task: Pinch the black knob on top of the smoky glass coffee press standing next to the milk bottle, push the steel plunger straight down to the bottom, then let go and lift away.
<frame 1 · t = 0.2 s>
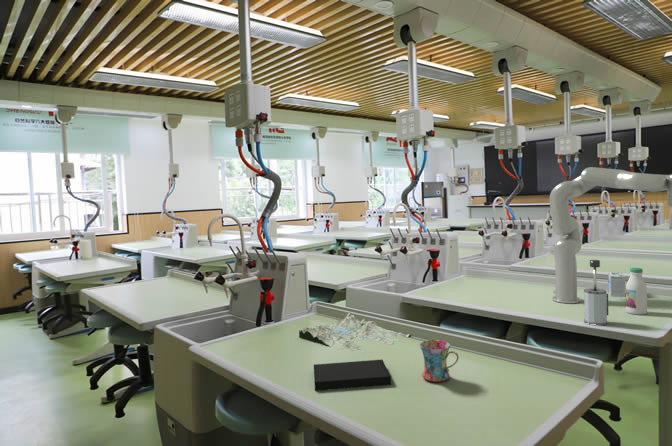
external hard drive: (350, 379, 139), on the lab bench
mug: (440, 379, 135), on the lab bench
plunger: (595, 278, 182), point 19 cm above the lab bench, slide at 0.0 cm
topographic map model: (354, 338, 180), on the lab bench
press: (595, 322, 183), on the lab bench
milk bottle: (636, 313, 194), on the lab bench
light bulb box: (616, 294, 228), on the lab bench
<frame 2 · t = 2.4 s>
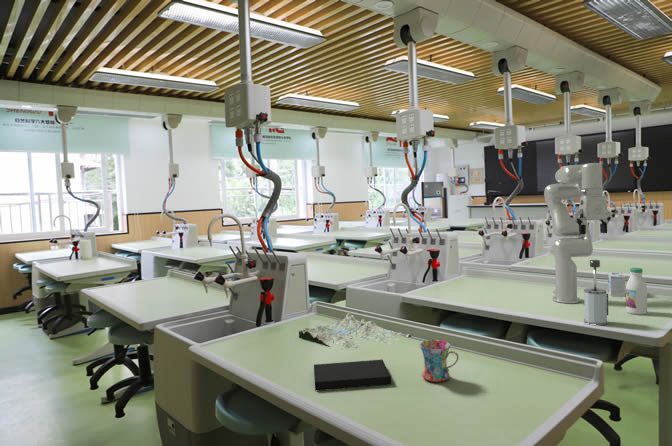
hand: (593, 233, 183), 37 cm above the lab bench, tool pointing down, fingers open, 9 cm apart
nothing on the lab bench moved.
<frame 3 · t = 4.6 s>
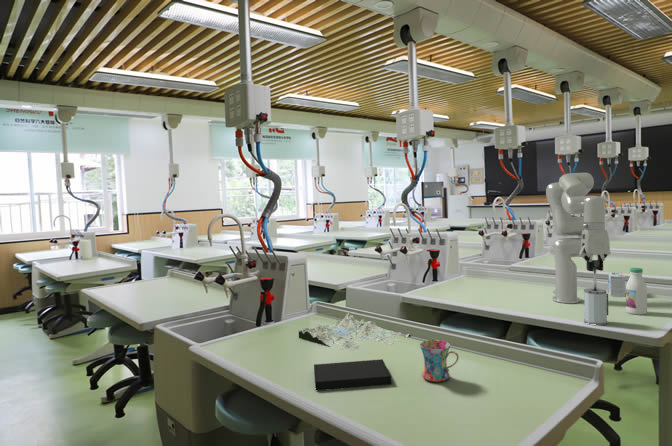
hand: (594, 270, 182), 22 cm above the lab bench, tool pointing down, fingers closed on plunger, 3 cm apart
plunger: (595, 278, 182), point 19 cm above the lab bench, slide at 0.0 cm, touching gripper
everything else where it was.
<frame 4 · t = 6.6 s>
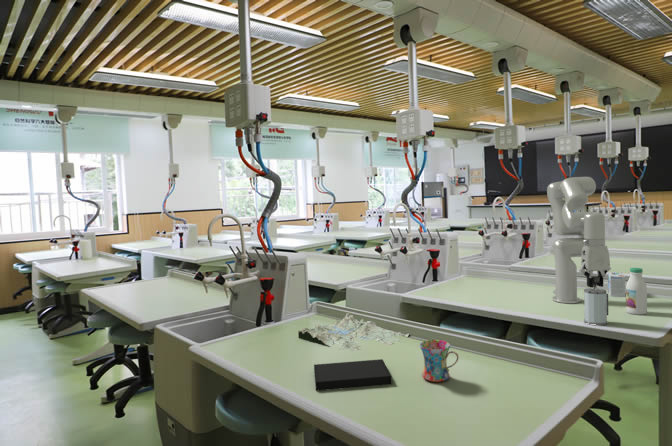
hand: (595, 286, 182), 15 cm above the lab bench, tool pointing down, fingers closed on plunger, 3 cm apart
plunger: (595, 294, 182), point 12 cm above the lab bench, slide at 6.8 cm, touching gripper
everything else where it was.
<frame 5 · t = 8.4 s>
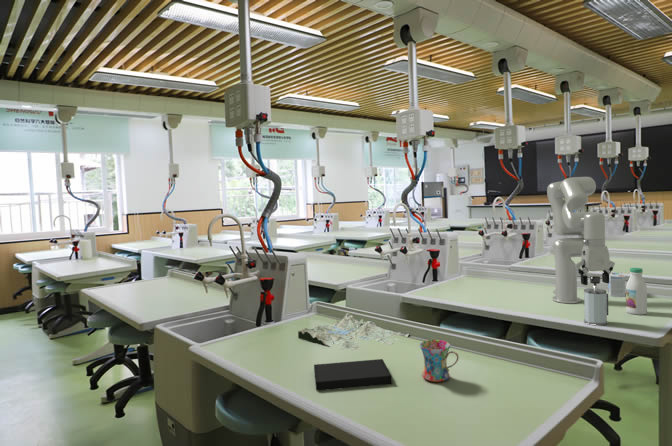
hand: (595, 283, 182), 17 cm above the lab bench, tool pointing down, fingers open, 9 cm apart
plunger: (595, 294, 182), point 12 cm above the lab bench, slide at 6.8 cm
everything else where it was.
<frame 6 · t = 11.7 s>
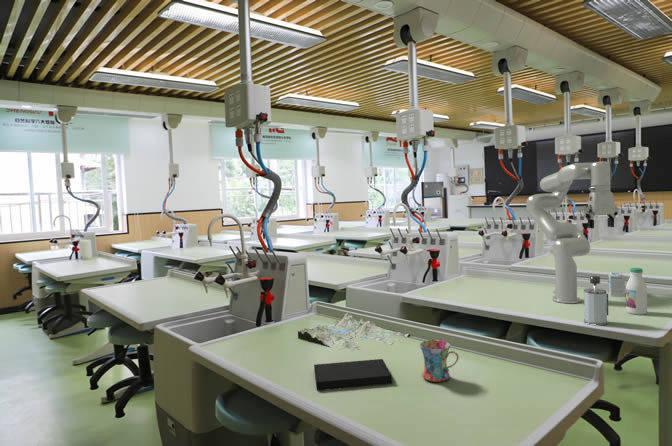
hand: (600, 227, 196), 38 cm above the lab bench, tool pointing down, fingers open, 9 cm apart
nothing on the lab bench moved.
at the end: plunger slide at 6.8 cm; the gripper is holding nothing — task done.
